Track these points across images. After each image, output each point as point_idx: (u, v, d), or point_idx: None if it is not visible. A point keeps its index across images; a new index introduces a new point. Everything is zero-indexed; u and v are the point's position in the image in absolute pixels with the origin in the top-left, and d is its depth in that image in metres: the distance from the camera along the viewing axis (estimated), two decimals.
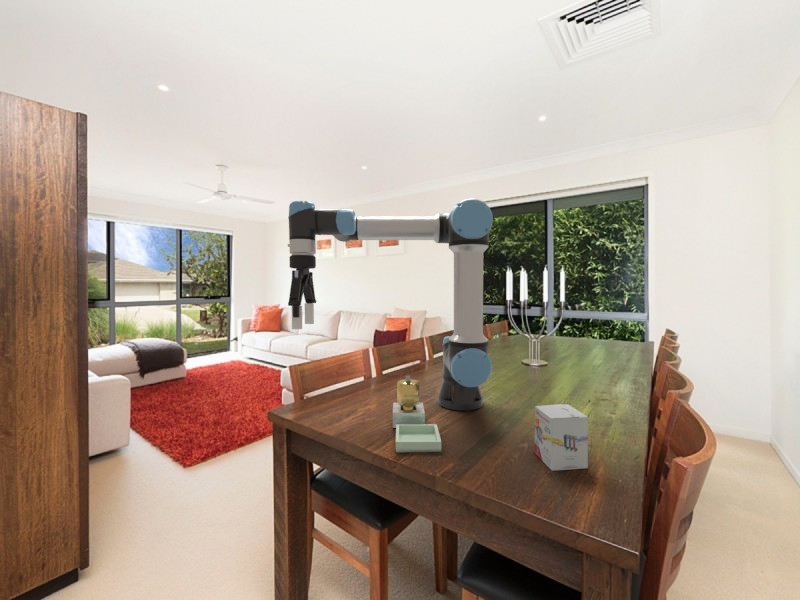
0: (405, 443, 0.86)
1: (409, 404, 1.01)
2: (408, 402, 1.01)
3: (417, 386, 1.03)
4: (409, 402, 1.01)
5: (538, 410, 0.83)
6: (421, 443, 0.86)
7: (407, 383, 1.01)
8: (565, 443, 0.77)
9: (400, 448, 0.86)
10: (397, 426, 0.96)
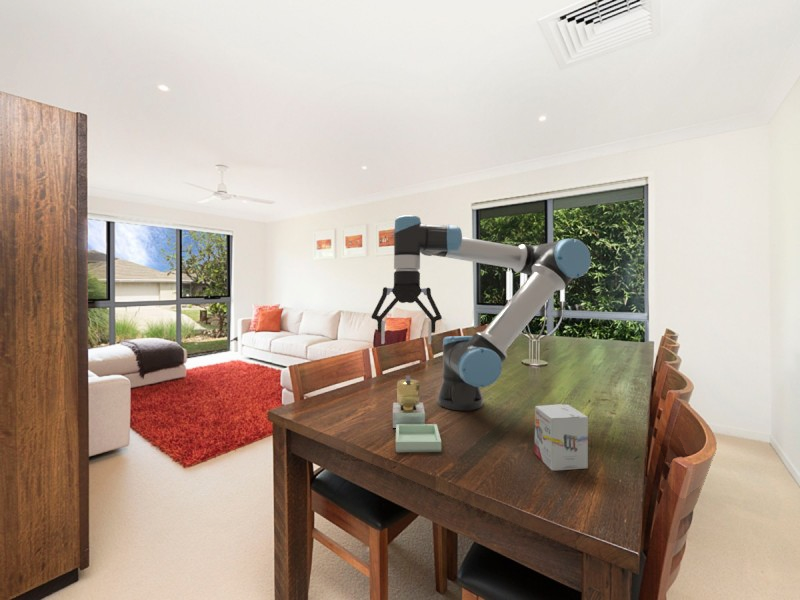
0: (405, 443, 0.86)
1: (409, 404, 1.01)
2: (408, 402, 1.01)
3: (417, 386, 1.03)
4: (409, 402, 1.01)
5: (538, 410, 0.83)
6: (421, 443, 0.86)
7: (407, 383, 1.01)
8: (565, 443, 0.77)
9: (400, 448, 0.86)
10: (397, 426, 0.96)
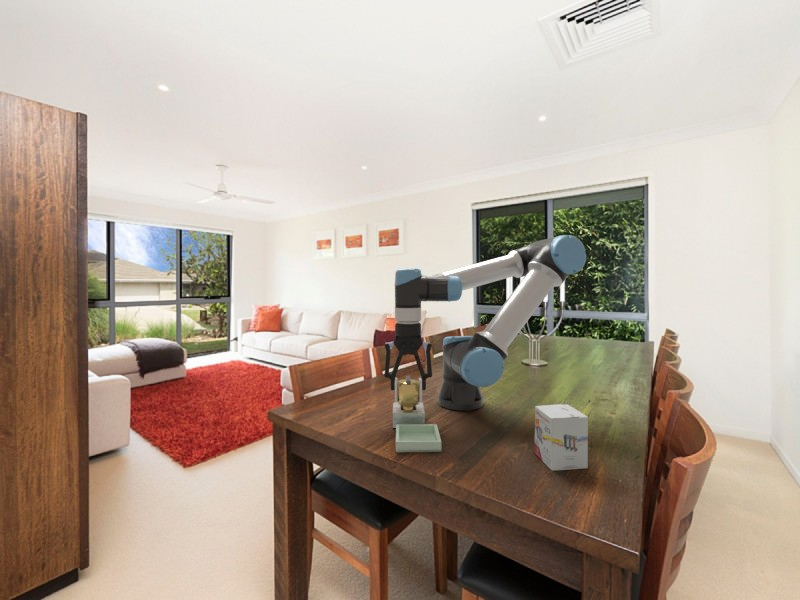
0: (405, 443, 0.86)
1: (409, 404, 1.01)
2: (408, 402, 1.01)
3: (417, 386, 1.03)
4: (409, 402, 1.01)
5: (538, 410, 0.83)
6: (421, 443, 0.86)
7: (407, 383, 1.01)
8: (565, 443, 0.77)
9: (400, 448, 0.86)
10: (397, 426, 0.96)
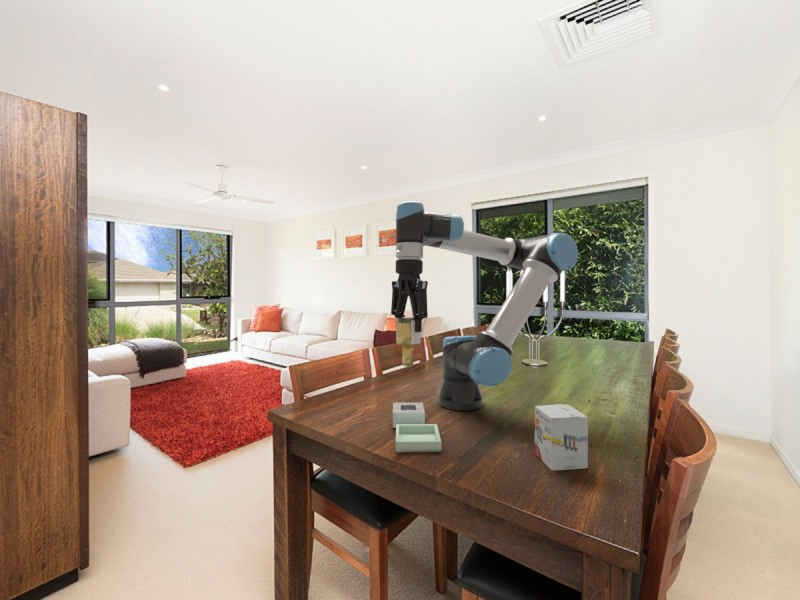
0: (405, 443, 0.86)
1: None
2: None
3: None
4: None
5: (538, 410, 0.83)
6: (421, 443, 0.86)
7: None
8: (565, 443, 0.77)
9: (400, 448, 0.86)
10: (397, 426, 0.96)
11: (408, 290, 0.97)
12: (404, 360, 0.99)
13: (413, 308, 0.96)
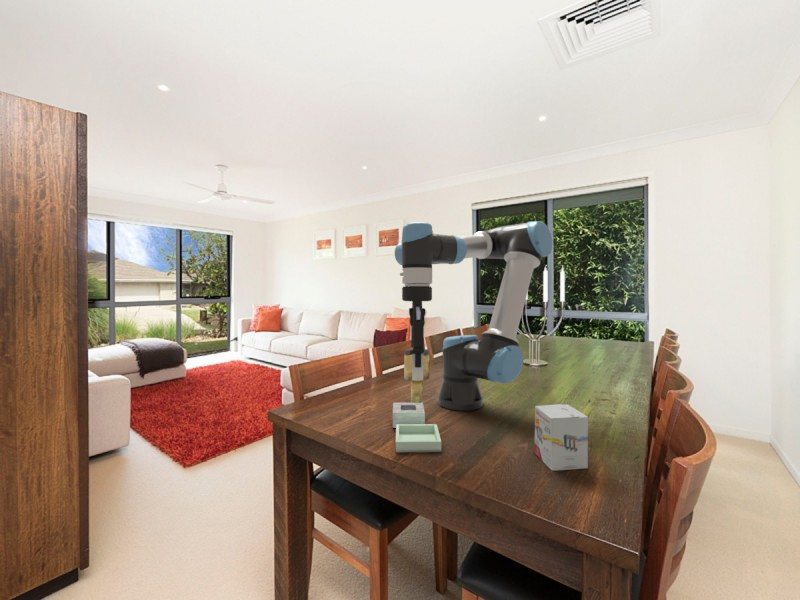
0: (405, 443, 0.86)
1: None
2: None
3: None
4: None
5: (538, 410, 0.83)
6: (421, 443, 0.86)
7: (428, 352, 0.91)
8: (565, 443, 0.77)
9: (400, 448, 0.86)
10: (397, 426, 0.96)
11: (410, 320, 0.88)
12: (411, 395, 0.91)
13: None
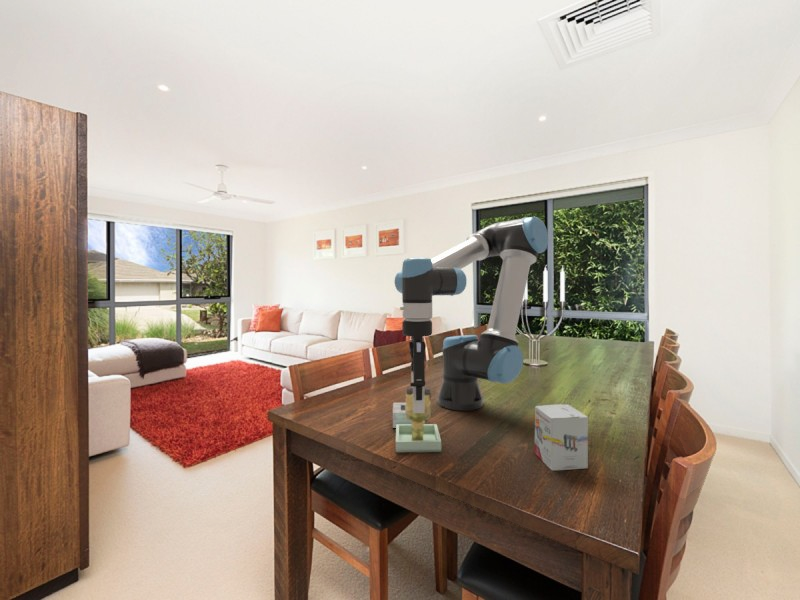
0: (405, 443, 0.86)
1: None
2: None
3: None
4: None
5: (538, 410, 0.83)
6: (421, 443, 0.86)
7: None
8: (565, 443, 0.77)
9: (400, 448, 0.86)
10: (397, 426, 0.96)
11: (410, 353, 0.88)
12: (412, 434, 0.91)
13: (413, 373, 0.85)
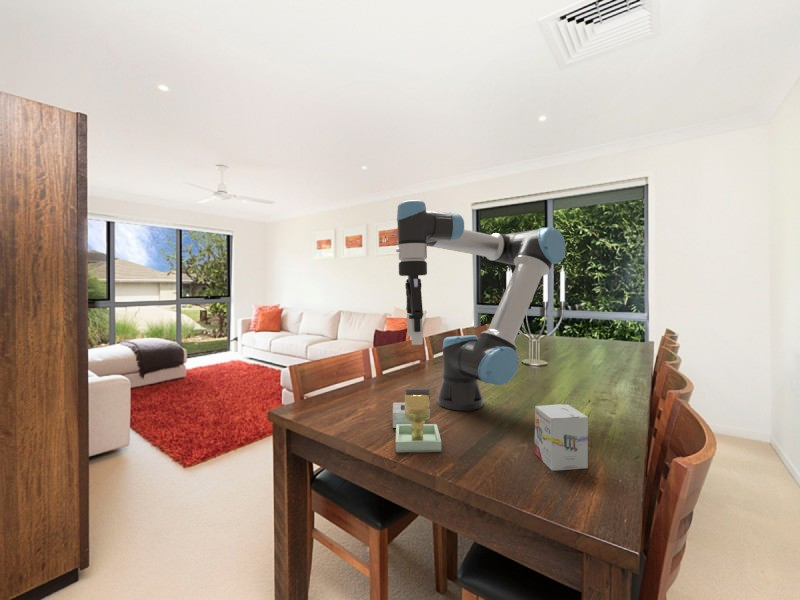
0: (405, 443, 0.86)
1: None
2: None
3: None
4: None
5: (538, 410, 0.83)
6: (421, 443, 0.86)
7: None
8: (565, 443, 0.77)
9: (400, 448, 0.86)
10: (397, 426, 0.96)
11: (407, 291, 0.93)
12: None
13: (411, 307, 0.90)
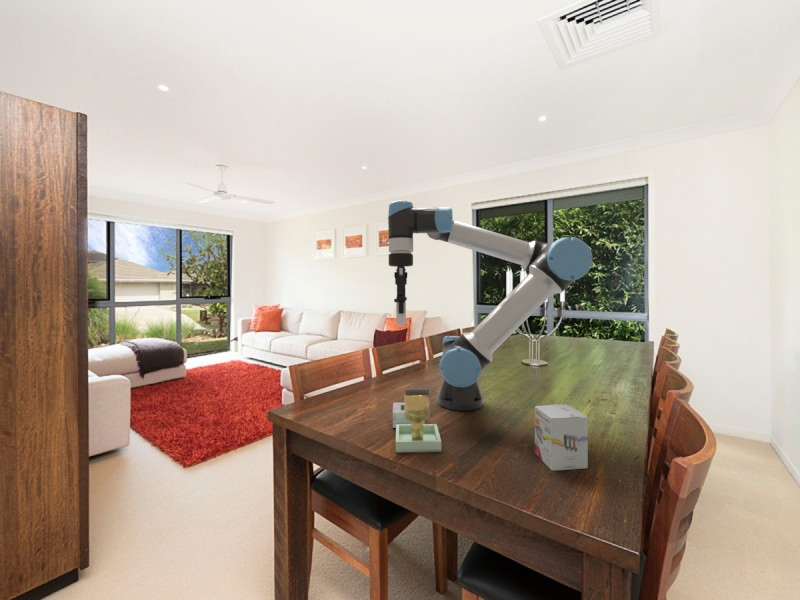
0: (405, 443, 0.86)
1: None
2: None
3: None
4: None
5: (538, 410, 0.83)
6: (421, 443, 0.86)
7: None
8: (565, 443, 0.77)
9: (400, 448, 0.86)
10: (397, 426, 0.96)
11: (395, 279, 1.07)
12: None
13: None
